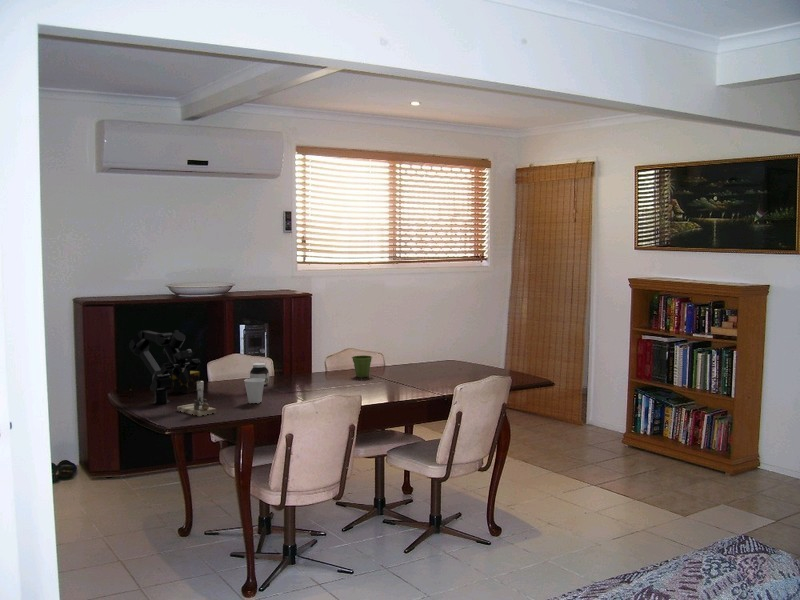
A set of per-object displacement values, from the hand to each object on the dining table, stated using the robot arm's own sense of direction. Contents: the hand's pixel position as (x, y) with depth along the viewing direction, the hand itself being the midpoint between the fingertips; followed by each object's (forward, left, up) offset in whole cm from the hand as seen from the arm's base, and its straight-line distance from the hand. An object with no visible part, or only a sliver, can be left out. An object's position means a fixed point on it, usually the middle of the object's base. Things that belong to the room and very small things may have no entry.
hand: (188, 380), depth 370 cm
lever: (+7, +7, -10) cm, 14 cm away
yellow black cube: (-46, -10, -14) cm, 49 cm away
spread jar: (-61, +25, -14) cm, 67 cm away
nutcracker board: (+5, +5, -14) cm, 15 cm away
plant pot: (-82, +81, -14) cm, 115 cm away
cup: (-15, +29, -14) cm, 35 cm away
